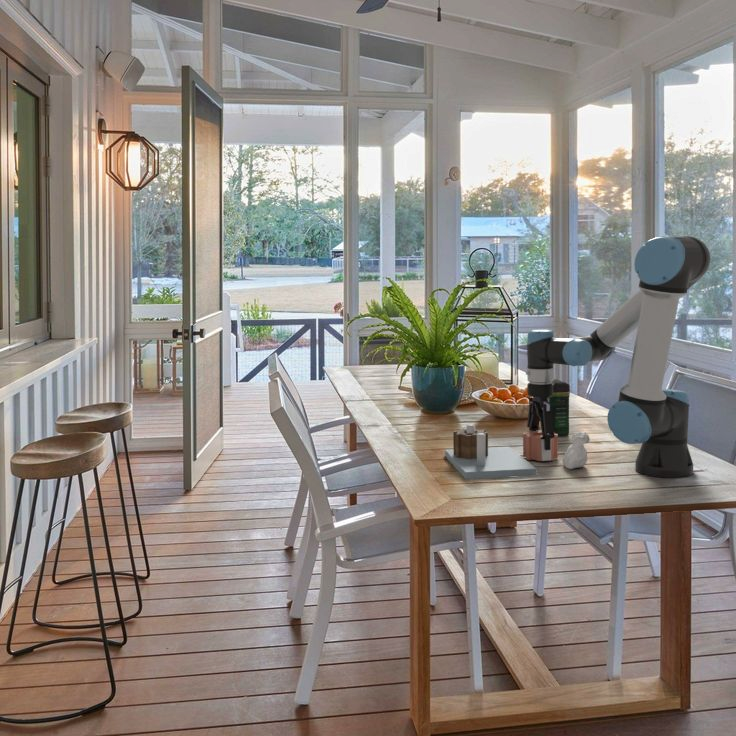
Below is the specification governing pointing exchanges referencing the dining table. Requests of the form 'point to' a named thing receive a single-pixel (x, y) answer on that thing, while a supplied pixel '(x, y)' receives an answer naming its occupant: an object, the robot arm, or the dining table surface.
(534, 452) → the brick-red gear
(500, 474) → the slate gear board
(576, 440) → the white rounded figure
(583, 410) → the dining table surface
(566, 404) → the coffee jar
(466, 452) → the walnut gear
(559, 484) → the dining table surface
